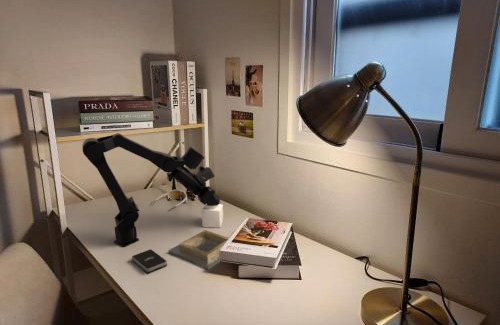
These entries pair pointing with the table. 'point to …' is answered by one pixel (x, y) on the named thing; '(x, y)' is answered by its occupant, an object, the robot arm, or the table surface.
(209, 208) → the medicine bottle
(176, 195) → the sunglasses
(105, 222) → the table surface
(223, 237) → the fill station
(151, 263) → the external hard drive
